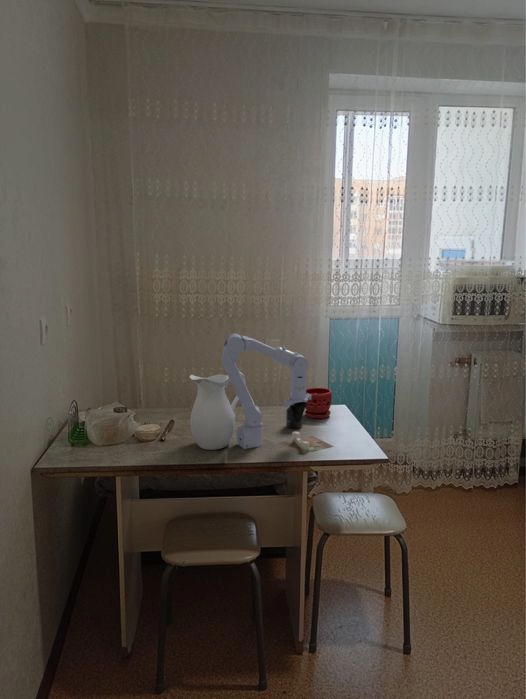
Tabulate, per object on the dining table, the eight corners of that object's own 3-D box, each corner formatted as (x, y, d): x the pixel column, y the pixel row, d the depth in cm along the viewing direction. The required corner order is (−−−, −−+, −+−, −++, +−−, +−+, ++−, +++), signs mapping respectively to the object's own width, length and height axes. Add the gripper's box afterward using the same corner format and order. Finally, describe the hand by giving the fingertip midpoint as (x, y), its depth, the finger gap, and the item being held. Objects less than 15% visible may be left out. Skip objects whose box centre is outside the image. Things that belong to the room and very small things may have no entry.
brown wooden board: (299, 457, 192) (299, 453, 191) (278, 445, 203) (278, 442, 203) (334, 449, 200) (334, 446, 199) (312, 438, 212) (312, 435, 211)
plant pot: (328, 411, 249) (328, 386, 247) (333, 419, 236) (334, 393, 234) (300, 411, 248) (301, 386, 246) (304, 420, 235) (305, 394, 233)
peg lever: (290, 440, 204) (290, 431, 204) (298, 439, 205) (298, 431, 205) (302, 451, 193) (302, 442, 193) (310, 450, 194) (310, 441, 194)
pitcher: (204, 456, 192) (200, 381, 187) (184, 443, 206) (180, 373, 201) (259, 442, 205) (257, 372, 200) (236, 431, 219) (234, 365, 214)
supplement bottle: (283, 430, 221) (283, 402, 219) (290, 426, 227) (290, 399, 225) (298, 433, 218) (298, 405, 216) (304, 428, 224) (305, 401, 222)
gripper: (295, 391, 192) (294, 427, 194) (318, 385, 203) (317, 419, 205) (280, 388, 196) (279, 423, 199) (303, 382, 207) (302, 415, 210)
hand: (297, 421), depth 202 cm, fingers closed
